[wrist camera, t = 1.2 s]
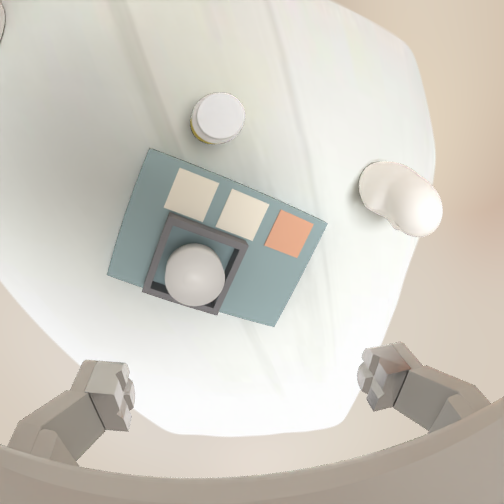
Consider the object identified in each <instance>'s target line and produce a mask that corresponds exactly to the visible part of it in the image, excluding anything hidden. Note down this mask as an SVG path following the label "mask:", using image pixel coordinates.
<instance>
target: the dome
mask: <svg viewBox="0 0 504 504" xmlns="http://www.w3.org/2000/svg"><path fill="white" fill-rule="evenodd" d="M224 283H225V274H224V270H223V267H222V264H221V261H220V258H219V256H218V255H217V254H216V252H215V251H214V250H212V249H211V248H209V247H208V246H205V245H203V244H198V243H191V244H186V245H183V246H181V247H179V248H177V249H176V250H175V251H174V252H173V253H172V254H171V255H170V257H169V259H168V261H167V264H166V272H165V285H166V288H167V290H168V292H169V294H170V295H171V296H172V297H173V298H174V299H175V300H176V301H178V302H180V303H181V304H184V305H188V306H201V305H205V304H208V303H210V302H211V301H213V300H214V299H216V298H217V297H218V296H219V294H220V293H221V291H222V289H223V287H224Z"/></svg>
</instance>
